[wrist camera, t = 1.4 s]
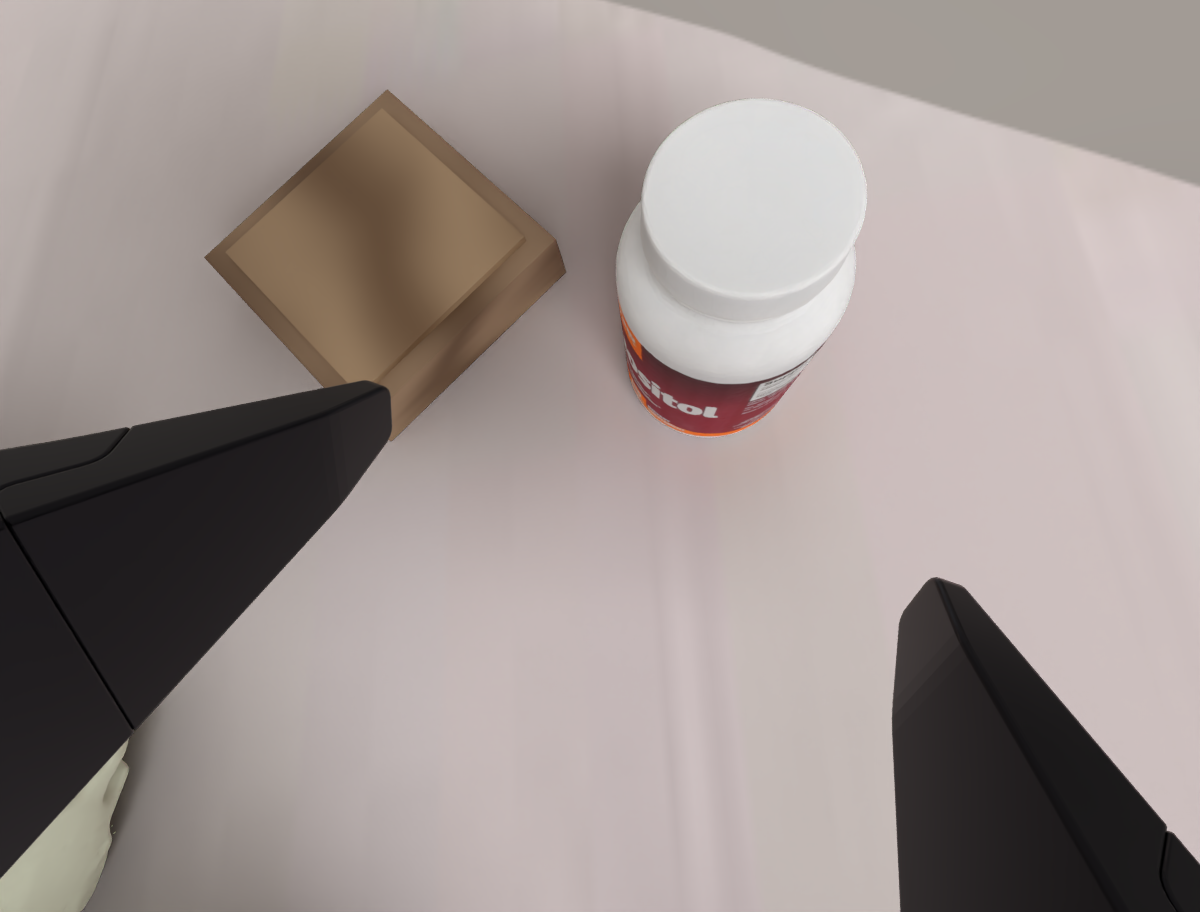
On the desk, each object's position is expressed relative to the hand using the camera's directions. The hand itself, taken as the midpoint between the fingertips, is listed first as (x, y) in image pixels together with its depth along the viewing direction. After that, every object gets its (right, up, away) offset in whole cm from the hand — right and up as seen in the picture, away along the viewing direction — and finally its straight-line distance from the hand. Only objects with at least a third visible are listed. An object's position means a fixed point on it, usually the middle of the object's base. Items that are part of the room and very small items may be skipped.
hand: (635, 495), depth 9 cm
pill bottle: (+4, +4, +14) cm, 15 cm away
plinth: (-9, +8, +16) cm, 20 cm away
